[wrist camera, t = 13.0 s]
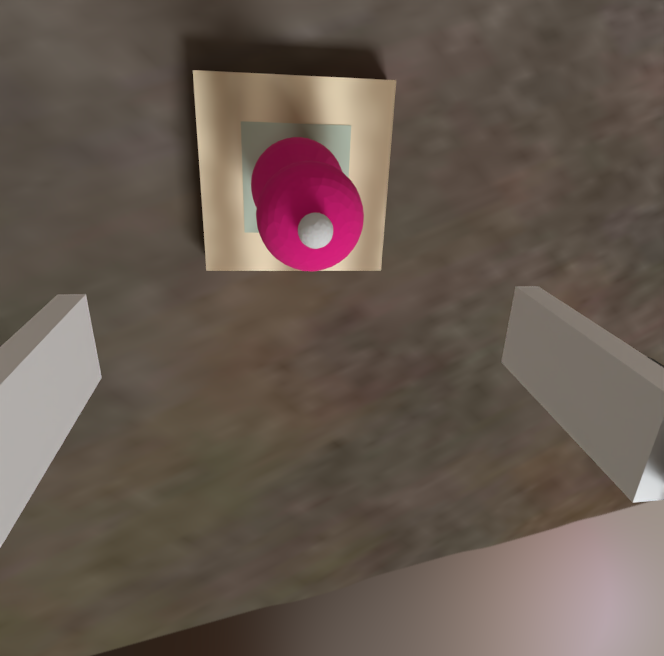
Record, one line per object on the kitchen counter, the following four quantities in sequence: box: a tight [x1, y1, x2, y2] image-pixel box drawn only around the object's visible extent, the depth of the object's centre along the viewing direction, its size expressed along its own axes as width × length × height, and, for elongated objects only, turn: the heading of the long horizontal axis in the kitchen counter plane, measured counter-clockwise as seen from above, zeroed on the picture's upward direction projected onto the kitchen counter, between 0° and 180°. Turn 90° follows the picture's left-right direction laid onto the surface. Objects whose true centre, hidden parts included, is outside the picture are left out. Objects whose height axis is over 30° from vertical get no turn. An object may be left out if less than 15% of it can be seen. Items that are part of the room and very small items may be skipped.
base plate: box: [193, 70, 396, 271], centre depth 43 cm, size 16×16×3 cm
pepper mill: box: [251, 137, 364, 271], centre depth 33 cm, size 7×7×20 cm
